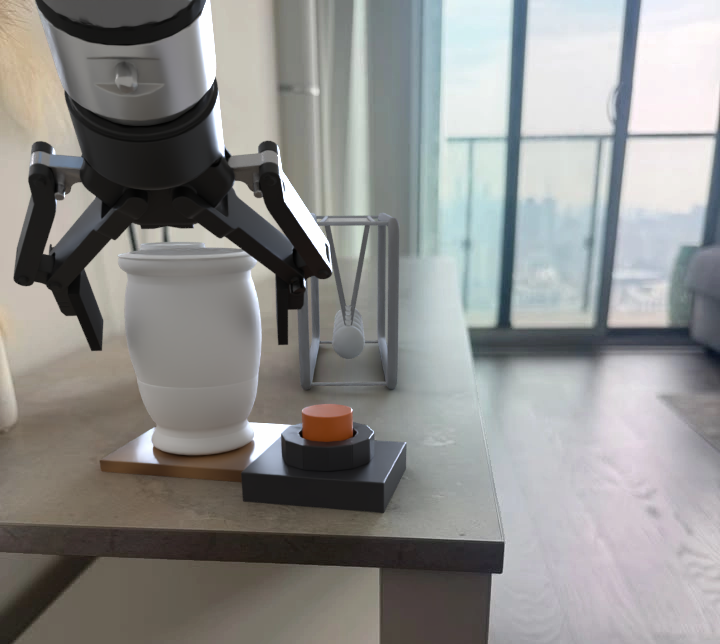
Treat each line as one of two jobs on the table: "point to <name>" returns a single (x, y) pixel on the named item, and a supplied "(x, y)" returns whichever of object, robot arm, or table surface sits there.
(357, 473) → the switch block
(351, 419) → the button
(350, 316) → the newton's cradle
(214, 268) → the jar
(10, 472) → the table surface
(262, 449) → the plate
